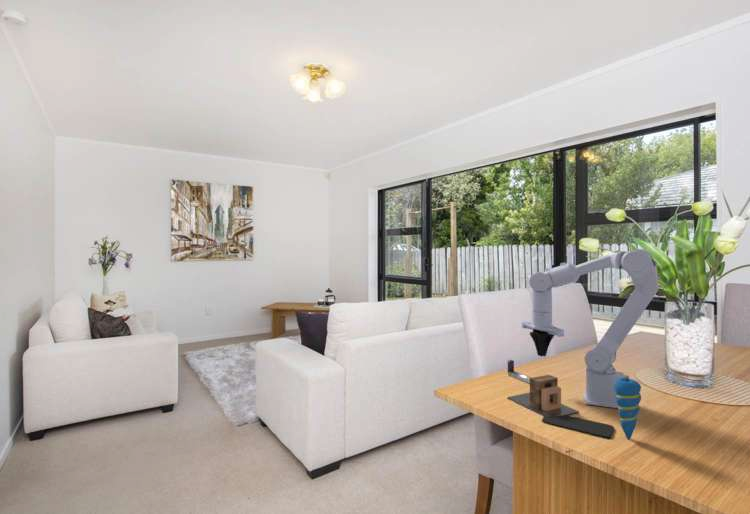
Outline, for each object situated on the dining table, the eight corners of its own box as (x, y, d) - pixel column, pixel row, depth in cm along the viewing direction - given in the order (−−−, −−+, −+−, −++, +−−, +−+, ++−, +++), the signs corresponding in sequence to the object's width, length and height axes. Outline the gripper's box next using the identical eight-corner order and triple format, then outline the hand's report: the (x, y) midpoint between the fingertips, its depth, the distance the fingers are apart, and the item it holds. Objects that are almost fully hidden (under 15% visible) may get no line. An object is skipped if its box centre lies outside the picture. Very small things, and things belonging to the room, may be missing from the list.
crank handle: (544, 388, 107) (544, 371, 107) (539, 389, 106) (539, 372, 106) (511, 375, 119) (511, 359, 119) (506, 376, 118) (506, 360, 118)
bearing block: (557, 404, 106) (557, 377, 106) (538, 409, 103) (538, 381, 103) (548, 400, 109) (548, 374, 109) (529, 405, 106) (529, 378, 106)
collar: (561, 407, 104) (561, 387, 104) (546, 411, 102) (546, 390, 102) (556, 405, 106) (556, 385, 106) (541, 408, 104) (541, 388, 103)
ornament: (645, 445, 85) (646, 377, 85) (619, 443, 86) (620, 375, 86) (634, 434, 90) (635, 369, 90) (610, 432, 91) (610, 368, 91)
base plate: (579, 412, 102) (579, 411, 102) (551, 419, 98) (551, 418, 98) (533, 393, 116) (533, 391, 116) (507, 398, 112) (507, 397, 112)
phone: (548, 410, 102) (614, 425, 93) (548, 414, 102) (614, 429, 93) (540, 421, 97) (610, 437, 87) (540, 424, 97) (610, 441, 87)
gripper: (571, 313, 114) (571, 359, 114) (533, 307, 127) (533, 348, 127) (554, 315, 111) (554, 362, 111) (516, 308, 124) (516, 350, 124)
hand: (541, 355), depth 119 cm, fingers closed
